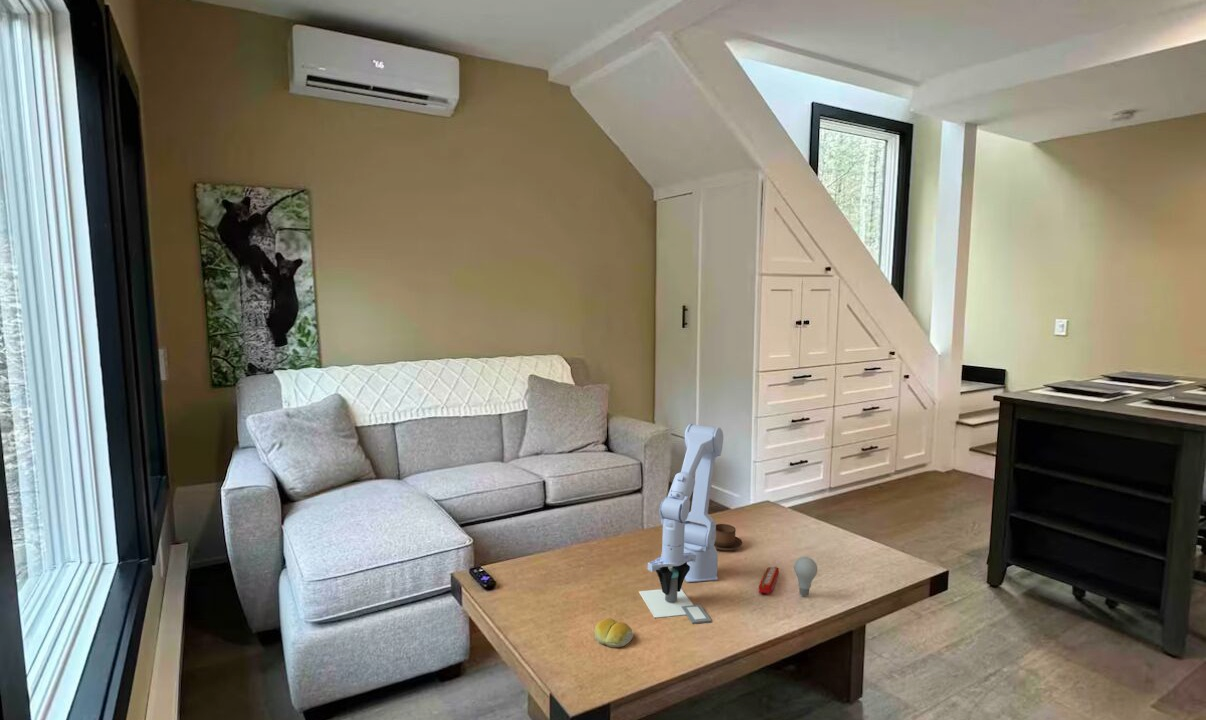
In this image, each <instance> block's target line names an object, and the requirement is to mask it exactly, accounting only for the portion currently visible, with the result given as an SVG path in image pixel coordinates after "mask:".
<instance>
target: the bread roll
mask: <svg viewBox="0 0 1206 720" xmlns="http://www.w3.org/2000/svg"><path fill="white" fill-rule="evenodd" d="M593 633H594V639H595V640H596V641H597V642H598V643H599V644H600V645H606V646H607V647H609V648H622V647H624V646H627V645H628V644H629V643H630V642H631V641H632V639H633V637H634V633H633V629H632V628H631V627H630V626H629V625H628V624H627V623H625V622H624V621H623V622H622V621H619V622H618V621H616V620H615V619H612V618H605V619H603V620H600V621H599V622H597V624H596V625H595V627H594V632H593Z"/></svg>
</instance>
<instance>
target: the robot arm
mask: <svg viewBox="0 0 1206 720" xmlns="http://www.w3.org/2000/svg"><path fill="white" fill-rule="evenodd" d="M684 443H685V447H686V451H685V456H684V459H683V463H682V465H681V469H680V472H678V473H676V474H675V476H674V478H673V480H672V483H671V486H670V489H669V490H668V494H667V496H666V497H664V498H662V500H661V503H660V506H659V511H658V512H659V516H660V517H659V518H660V524H661V526H662V536H661V537H662V539H661V541H662V542H661V544H662V546H661V553H660V555H661V556H659V557H657V558H655V559H654V560H651V561H649V562H647V570H648V571H649V572H651V573H654V572H656V574H657V577H658V579H659V582H660V586H661V587H660V588H661V589H662V592H663V593H664V594H666V595H669V591H670V581H671V577H672V574H673V573H672V572H671V571H669V569H668V568H675V569H677V570H678V571H679V575H678V590H677V591H678V592H679V591H680V590H681V589H682V587H683V582H684V581H685V582H686V583H692V582H693V583H695V582H706V581H707V582H709V581H717V580H718V579H719V578H718V561H719V559H718V558H719V555H718V551H717V550H718V549H716V548H715V546H714V543H715V539H716V524H717V523H716V521H715V520H714V519H713V518H712V516H711V515H710V514H709V505H710V499H711V498H710V497H711V490H712V484H713V483H712V482H713V475H714V467H715V460H716V458H718V457H720V456H722V455H721V454H722V451H723V444H724V431H723V430H722V428H721V427H718V426H717V427H715V426H707V425H699V424H693V423H689V424H688V425H687V427H686V428H685V430H684ZM694 476H695V478H694ZM691 496H692V500H691ZM690 506H691V508H690Z"/></svg>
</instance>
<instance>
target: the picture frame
mask: <svg viewBox="0 0 1206 720" xmlns="http://www.w3.org/2000/svg"><path fill="white" fill-rule="evenodd" d="M682 609H683V610H684V612H685V613H686V615H685V616H687V619H688V620H689V621H690V622H691V624H693V625H695V624H696V625H698V624H705V623H706V624H707V623H712V622H713V621H712V619H711V618H710V616H709V615H708V613H707V612H706V611H705V610H704V608H703V607H702V606H701V605H700V604H693V605H690V606H682Z"/></svg>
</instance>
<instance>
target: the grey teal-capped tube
mask: <svg viewBox="0 0 1206 720" xmlns="http://www.w3.org/2000/svg"><path fill="white" fill-rule="evenodd" d="M668 569H669V571H671V572H672V573H673V574H672V577H671V581H670V591H669V595H666V594H665V600H666V601H667V602H671V603H673V602H676V601H677V590H678V575H679V571H678V570H677V569H675V568H672V567H668Z"/></svg>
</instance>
